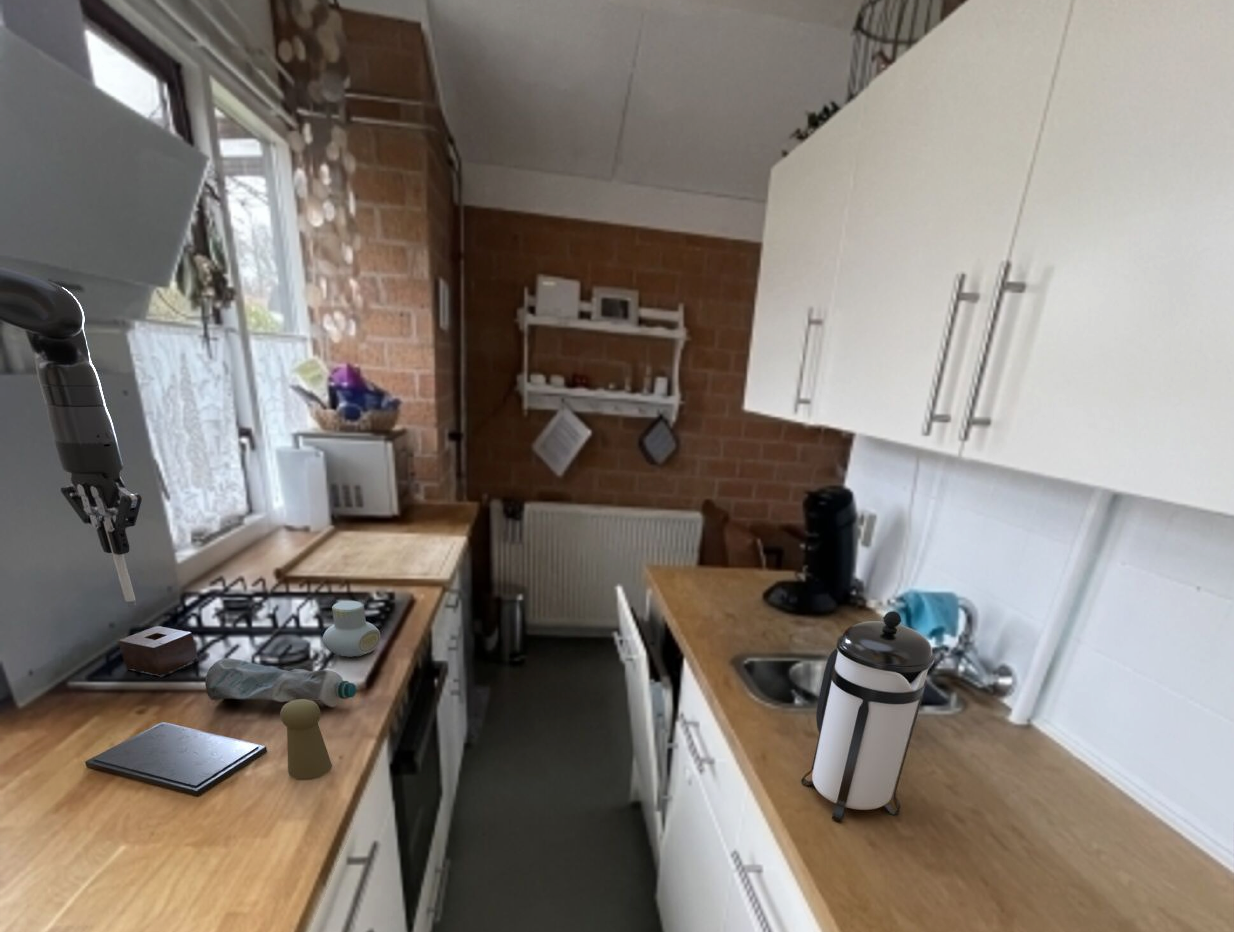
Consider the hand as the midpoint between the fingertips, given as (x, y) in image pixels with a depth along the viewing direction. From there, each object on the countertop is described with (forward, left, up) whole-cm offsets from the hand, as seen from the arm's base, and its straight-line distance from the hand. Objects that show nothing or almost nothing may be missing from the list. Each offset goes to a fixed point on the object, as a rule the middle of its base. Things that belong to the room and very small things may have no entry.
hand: (117, 552), depth 112 cm
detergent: (+23, +6, -25) cm, 34 cm away
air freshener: (+19, +29, -25) cm, 43 cm away
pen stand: (-8, +9, -25) cm, 27 cm away
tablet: (+21, -15, -25) cm, 36 cm away
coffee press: (+117, +14, -25) cm, 121 cm away
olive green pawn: (+40, -10, -25) cm, 49 cm away
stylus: (0, 0, -9) cm, 9 cm away
